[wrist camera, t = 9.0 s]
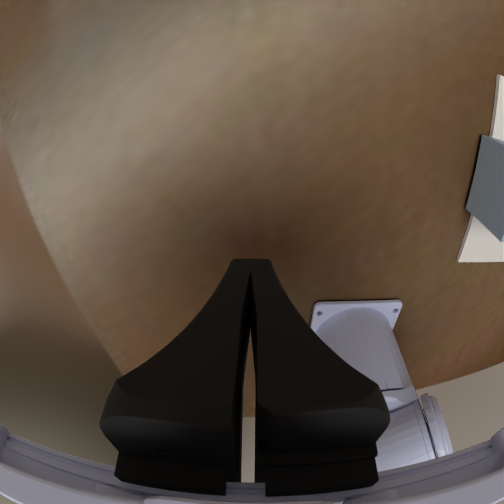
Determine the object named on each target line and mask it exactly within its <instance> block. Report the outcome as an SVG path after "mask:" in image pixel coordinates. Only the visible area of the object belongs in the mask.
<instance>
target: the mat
mask: <svg viewBox="0 0 504 504" xmlns="http://www.w3.org/2000/svg"><path fill="white" fill-rule="evenodd" d="M489 137H492V138H496V139H499V140H502V141H504V76H501V75H498V74H497V77H496V89H495V99H494V107H493V115H492V122H491V128H490V134H489ZM456 260H457V261H458V262H504V242H500V241H499V240H498V239H497V238H496V237H495V236H494V235H493V234H492V233H491V232H490V231H489V230H488V229H487V228H486V227H485V226H484V225H483V224H482V223H481V222H480V221H479V220H478V219H477V218H475V217H474V216H473V215H472V214H471V216H470V220H469V223H468V226H467V229H466V232H465V235H464V238H463V241H462V244H461V247H460V250H459V253H458V256H457V259H456Z"/></svg>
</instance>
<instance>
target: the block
mask: <svg viewBox="0 0 504 504" xmlns="http://www.w3.org/2000/svg"><path fill="white" fill-rule="evenodd" d="M466 209H467V210H468V211H469V212H470V213H471V214H472V215H473V216H474V217H475V218H477V219H478V220H479V221H480V222H481V223H482V224H483V225H484V226H485V227H486V228H487V229H488V230H489V231H490V232H491V233H492V234H493V235H494V236H495V237H496V238H497V239H498V240H499V241H500V242H504V141H502V140H499V139H496V138H492V137H488V136H485V135H482V139H481V144H480V150H479V155H478V160H477V165H476V169H475V174H474V178H473V182H472V186H471V190H470V194H469V198H468V202H467V206H466Z"/></svg>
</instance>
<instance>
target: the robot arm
mask: <svg viewBox="0 0 504 504" xmlns="http://www.w3.org/2000/svg"><path fill="white" fill-rule="evenodd" d="M401 307H402V302H401V301H400V300H373V301H336V302H318V303H316V304H315V305H314V308H313V314H312V320H311V326H309V325H308V324H307V323H306V322H305V320H304V319H303V318H302V316H301V315H300V314H299V312H298V311H297V309H296V308H295V307H294V305H293V304H292V302H291V301H290V299H289V298H288V296H287V294H286V292H285V291H284V289H283V287H282V286H281V284H280V282H279V280H278V278H277V276H276V274H275V271H274V269H273V266H272V263H271V261H270V260H269V259H233V260H232V261H231V262H230V265H229V267H228V269H227V271H226V273H225V275H224V277H223V279H222V280H221V282H220V284H219V285H218V287H217V288H216V290H215V291H214V293H213V295H212V296H211V297H210V299H209V300H208V301H207V303H206V304H205V305H204V307H203V308H202V309H201V311H200V312H199V313H198V314H197V316H196V317H195V318H194V319H193V320H192V321H191V322H190V323H189V324H188V326H187V327H186V328H185V329H184V330H183V331H182V332H181V333H180V334H179V335H178V336H176V337H175V338H174V339H173V340H172V341H171V342H170V343H169V344H168V345H167V346H165V347H164V348H163V349H162V350H160V351H159V352H158V353H157V354H155V355H154V356H153V357H151V358H150V359H149V360H147V361H146V362H145V363H143V364H142V365H140V366H139V367H137V368H135V369H134V370H132V371H131V372H129V373H127V374H126V375H124V376H122V377H121V378H119V379H117V380H116V382H115V384H114V386H113V388H112V390H111V392H110V394H109V396H108V398H107V401H106V404H105V407H104V410H103V413H102V416H101V420H100V428H101V430H102V432H103V433H104V435H105V436H106V437H107V439H108V440H109V441H110V442H111V443H112V444H113V445H114V446H115V448H116V449H117V450H118V451H119V455H118V459H117V463H116V467H114V466H110V465H106V464H102V463H98V462H94V461H90V460H86V459H83V458H80V457H76V456H73V455H70V454H66V453H63V452H60V451H57V450H54V449H51V448H48V447H46V446H43V445H40V444H37V443H35V442H32V441H30V440H27V439H25V438H22V437H20V436H17V435H15V434H12V433H10V432H8V430H7V429H6V428H5V427H4V426H3V425H2V424H1V423H0V494H1V495H3V496H5V497H7V498H8V499H10V500H12V501H14V502H16V503H18V504H496V503H498V502H499V501H501V500H503V499H504V428H502V429H501V430H499V431H498V432H497V433H496V434H494V435H493V436H492V437H491V439H490V440H488V441H485V442H483V443H480V444H478V445H475V446H472V447H469V448H466V449H464V450H461V451H458V452H455V453H453V449H452V445H451V441H450V438H449V434H448V431H447V428H446V424H445V422H444V418H443V416H442V413H441V410H440V408H439V405H438V402H437V400H436V398H435V397H433V396H429V395H428V394H424V395H422V396H420V399H421V402H422V405H423V411H424V414H425V417H424V414H423V411H422V408H421V405H420V402H419V399H418V397H417V394H416V391H415V389H414V386H413V385H412V382H411V379H410V376H409V374H408V371H407V368H406V365H405V363H404V360H403V357H402V354H401V352H400V349H399V347H398V344H397V341H396V339H395V336H394V334H393V331H392V330H393V328H394V326H395V323H396V320H397V318H398V315H399V313H400V310H401ZM394 309H395V310H394ZM319 311H321V312H319ZM318 312H319V313H318ZM250 327H251V337H252V348H253V359H254V369H255V384H256V407H255V483H241V455H242V411H243V383H244V373H245V366H246V358H247V350H248V343H249V335H250ZM425 418H426V420H425ZM426 421H427V422H426ZM435 451H436V453H435ZM436 454H437V457H436ZM146 497H148V498H146Z"/></svg>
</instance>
